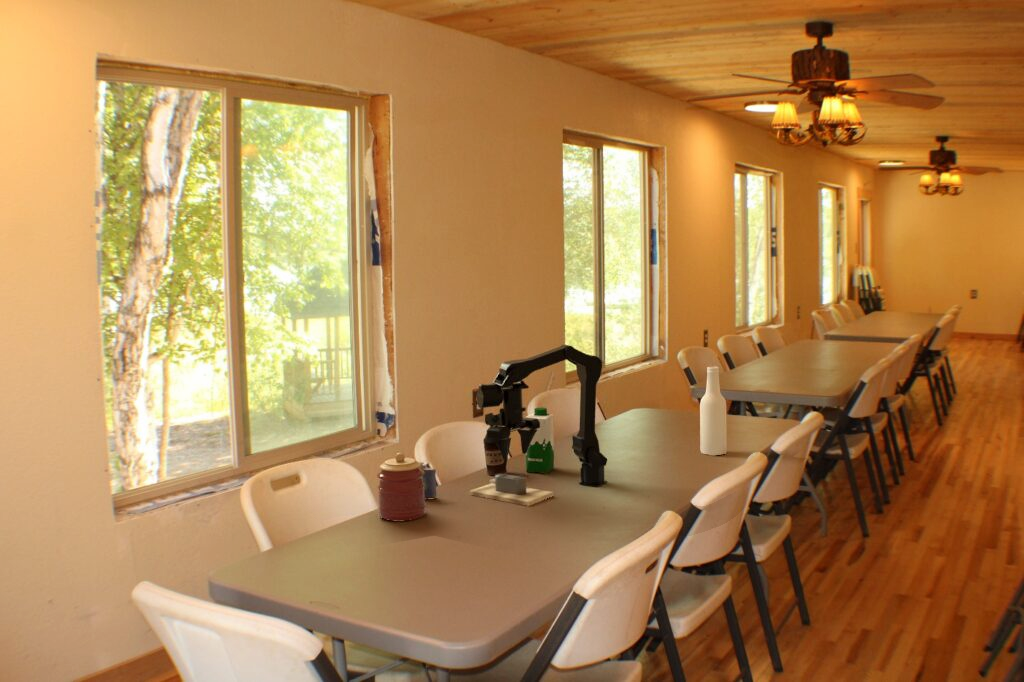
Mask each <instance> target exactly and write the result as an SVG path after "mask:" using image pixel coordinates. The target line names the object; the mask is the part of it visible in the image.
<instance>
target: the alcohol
mask: <svg viewBox="0 0 1024 682" xmlns="http://www.w3.org/2000/svg"><path fill="white" fill-rule="evenodd" d="M719 369H720V367H718V366H715V365H714V366H707V367H706V373H707V374H706V387H705V393H704V395H703V396H702V397H701V399H700V403H699V421H700V422H699V425H700V426H699V427H700V428H699V429H700V430H699V436H700V437H699V441H700V442H699V443H700V444H699V446H700V451H699V452H700V453H701V454H702V453H703V454H709V455H720V454H725V455H726V453H727V448H728V447H727V446H728V445H727V433H728V432H727V428H728V427H727V401H726V398H725V397H724V396H723V395H722V393H721V388H720V387H721V386H720V377H719V376H720V375H719V372H720V370H719ZM703 454H702V455H703Z"/></svg>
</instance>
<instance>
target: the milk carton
mask: <svg viewBox="0 0 1024 682" xmlns="http://www.w3.org/2000/svg"><path fill="white" fill-rule="evenodd" d="M525 417H527V418H537V419H538V420H539V422H540V428H538V429H537V432H536V433H535V435H534V437H533V439H532V441H531V443H530V445H529V448H528V450H527V452H526V454H525V468H526V469H525V471H528V472H527V473H534V472H539V474H548V473H549V472H551V471H552V470H553V469H554V468H555V467H554V466H555V464H554V463H555V442H554V441H555V440H554V439H555V436H554V435H555V433H554V431H555V430H554V413H553V414H550V413H548V409H547V408H546V407H536V408H534V413H530V414H528V415H526V416H525ZM547 472H548V473H547Z"/></svg>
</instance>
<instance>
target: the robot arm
mask: <svg viewBox="0 0 1024 682" xmlns="http://www.w3.org/2000/svg"><path fill="white" fill-rule="evenodd" d="M566 360H567V361H568V362H570V363H571V364H573V365H574V366H575V368H576V374H577V377H578V380H579V384H580V397H579V398H580V399H579V402H580V403H579V404H580V405H579V430H578V432H577V434H576V435H574V434H573V435H572V437H571V439H572V446H571V449H572V450H573V453H574V454H575V456H576V457H577V458H578V459H579V460H578V461H579V462H580V463H581V467H580V482H578V484H579V485H581V486H582V485H583V486H588V487H589V486H590V487H593V488H594V487H595V488H596V487H599V486H602V485H605V484H607V483H608V480H605V467H606V466H607V463H608V457H606V456H605V455H604V454H602V452H601V449H600V443H599V438H598V436H597V432H596V408H597V407H596V402H597V384H598V382H599V380H600V378H601V375H602V371H603V370H602V369H603V361H602V360H601V358H600V357H599V356H596V355H593V354H588V353H584V352H583V351H581V350H578V349H577V348H575V347H574V346H572V345H569V344H561V345H560V346H558V347H555V348H553V349H550V350H547V351H544V352H542V353H539V354H536V355H533V356H531V357H528V358H521V359H514V360H508V361H507V360H506V361H504V362H502V363H501V365H500V366H499V369H498V371H499V372H498V373H497V375H496V376H495V378H494V380H493V381H492V383H489V384H488V383H487V384H485V383H482V384H481V383H480V384H478V389H477V392H476V395H475V396H476V397H475V398H476V403H477V406H478V408H479V409H484V408H494V407H495V408H496V407H499V406H500V405H502V407H500V409H499V413H497V414H494V413H493V412H490V413H486V414H485V415H484V424H486V425H487V426H489V427H488V428H487V429H486V434H487V438H490V439H491V440H494V441H495V442H496V444H497V445H498V448H499V450H500V453H501V455H502V458H503V460H507V458H508V459H509V453H510V451H509V450H510V447H511V440H512V438H511V437H510V436H511V433H513V432H516V431H517V432H518V434H519V435H520V444H521V445H520V446H521V453H522V454H523V455H526V452H527V450H528V448H529V445H530V443H531V441H532V439H533V437H534V435H535V433H536V432H537V429H538V428H540V422H539V420H538V419H537V418H527V417H526V416H525V417H524V413H523V412H526V407H525V406H524V407H523V390H525V389H526V390H527V389H529V388H530V386H529V385H527V384H526V383H525V381H524V380H525V379H526V378H528V377H529V376H530V375H531V374H532V373H534V372H537V371H539V370H542V369H544V368H548V367H550V366H552V365H555V364H558V363H560V362H564V361H566ZM508 437H509V438H508ZM507 461H508V460H507ZM606 482H607V483H606ZM604 483H605V484H604Z"/></svg>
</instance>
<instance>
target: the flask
mask: <svg viewBox="0 0 1024 682" xmlns="http://www.w3.org/2000/svg"><path fill="white" fill-rule="evenodd" d="M420 463H421V466H420V469H422V470H423V471H424V475H423V482H424V483H425V486H424V491H425V498H437V482H436V481H437V480H436V479H437V477H436V472H437V471H436V468H434V467H423V466H424V463H425V462H422V461H421V462H420Z"/></svg>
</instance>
